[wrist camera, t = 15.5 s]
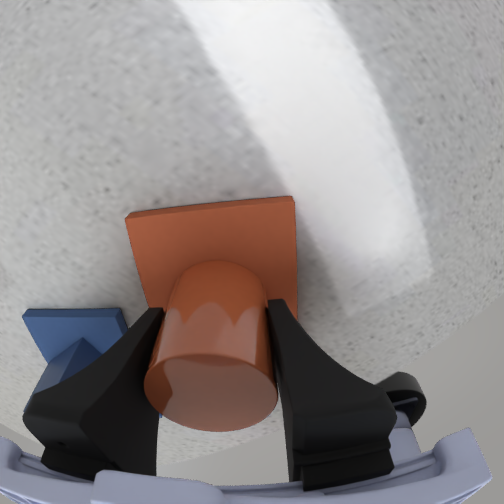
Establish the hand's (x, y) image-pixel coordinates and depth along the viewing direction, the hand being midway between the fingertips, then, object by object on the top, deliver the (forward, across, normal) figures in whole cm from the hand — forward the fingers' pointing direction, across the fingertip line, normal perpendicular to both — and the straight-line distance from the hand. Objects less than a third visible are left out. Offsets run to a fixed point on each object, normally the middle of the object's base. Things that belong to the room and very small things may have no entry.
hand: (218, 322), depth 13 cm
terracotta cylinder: (+1, 0, 0) cm, 1 cm away
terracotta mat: (+2, 0, 0) cm, 2 cm away
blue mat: (+2, +9, +5) cm, 11 cm away
